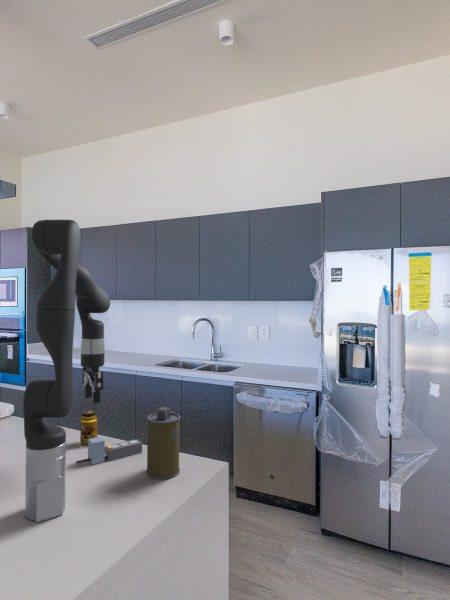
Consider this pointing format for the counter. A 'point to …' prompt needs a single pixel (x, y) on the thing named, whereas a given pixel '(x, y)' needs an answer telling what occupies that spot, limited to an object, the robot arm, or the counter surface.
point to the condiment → (88, 427)
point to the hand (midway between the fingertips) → (92, 400)
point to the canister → (163, 444)
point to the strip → (123, 449)
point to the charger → (95, 451)
